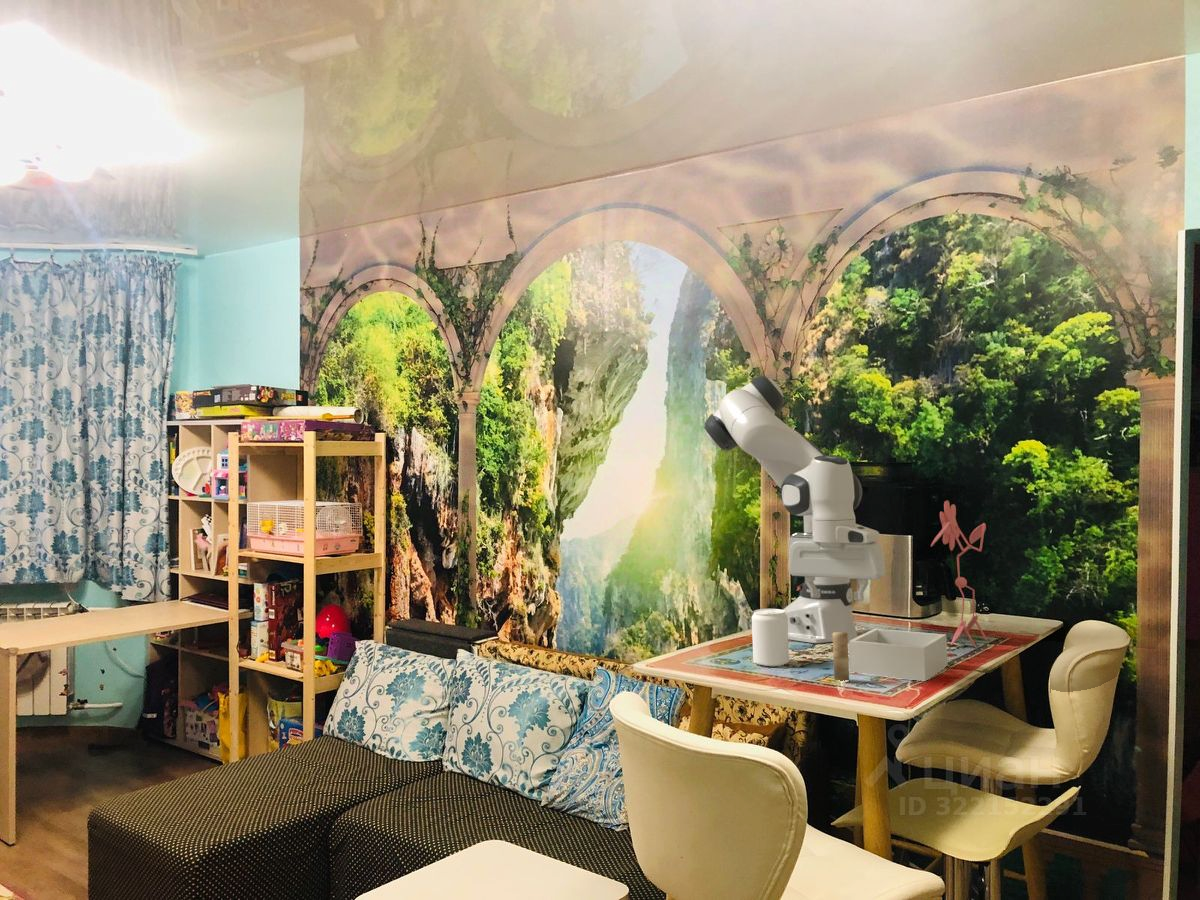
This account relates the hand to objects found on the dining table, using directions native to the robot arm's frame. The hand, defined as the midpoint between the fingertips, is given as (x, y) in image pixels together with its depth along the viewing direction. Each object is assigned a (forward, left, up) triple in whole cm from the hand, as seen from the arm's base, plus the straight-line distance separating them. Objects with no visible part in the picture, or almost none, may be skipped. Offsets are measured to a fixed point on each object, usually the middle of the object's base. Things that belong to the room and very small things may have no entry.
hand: (836, 599), depth 189 cm
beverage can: (-20, +8, -17) cm, 27 cm away
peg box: (+7, +15, -17) cm, 24 cm away
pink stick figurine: (+9, +51, -17) cm, 54 cm away
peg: (0, 0, -17) cm, 17 cm away
